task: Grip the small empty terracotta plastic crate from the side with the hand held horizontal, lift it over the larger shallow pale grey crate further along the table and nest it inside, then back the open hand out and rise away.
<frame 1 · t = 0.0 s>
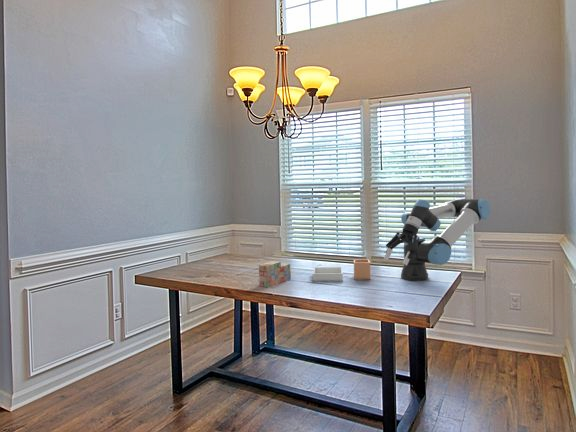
hand: (394, 261, 213), 15 cm above the table, tool tilted 35°, fingers open, 13 cm apart
stack of blocks: (275, 282, 239), on the table
grey crate: (327, 277, 246), on the table
terracotta crate: (361, 277, 244), on the table
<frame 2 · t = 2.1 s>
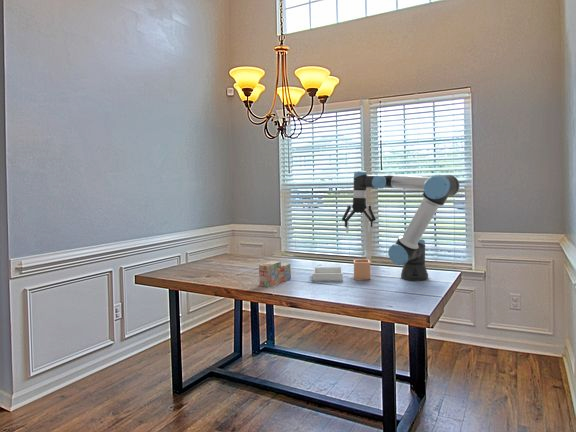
hand: (358, 232, 249), 26 cm above the table, tool pointing down, fingers open, 13 cm apart
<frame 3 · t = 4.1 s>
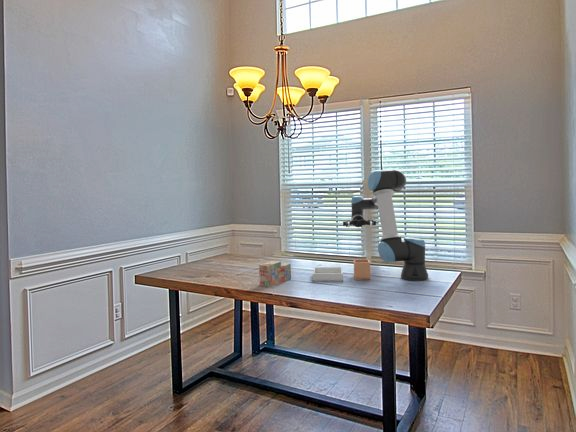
hand: (360, 225, 250), 30 cm above the table, tool horizontal, fingers open, 13 cm apart
nothing on the table moved.
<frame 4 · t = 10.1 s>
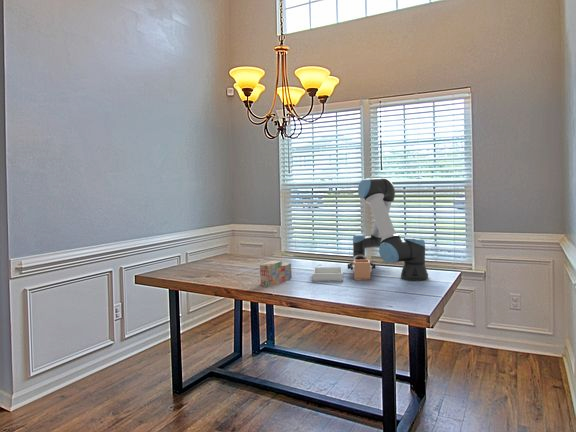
hand: (362, 269, 239), 6 cm above the table, tool horizontal, fingers closed on terracotta crate, 9 cm apart
terracotta crate: (361, 277, 244), on the table, touching gripper
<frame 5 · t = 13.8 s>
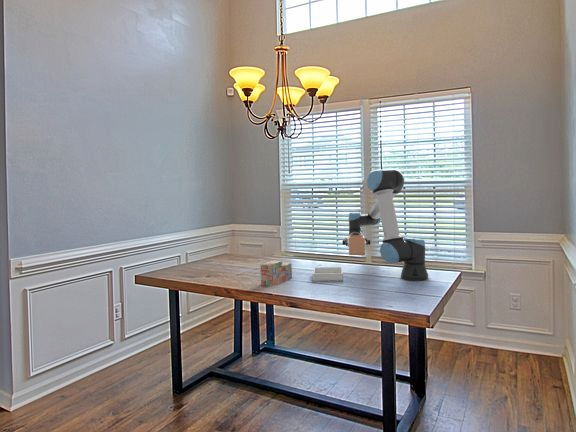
hand: (356, 244, 238), 20 cm above the table, tool horizontal, fingers closed on terracotta crate, 9 cm apart
terracotta crate: (356, 253, 244), point 14 cm above the table, touching gripper
when the fingers open (10 cm above the table, at t = 17.4 s): terracotta crate drops 3 cm, resting on grey crate.
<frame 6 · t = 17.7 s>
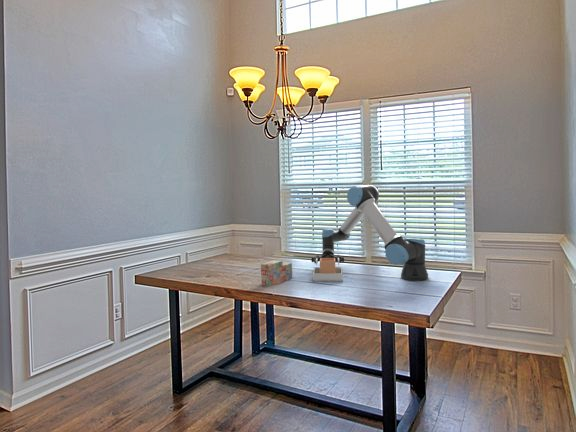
hand: (327, 262, 241), 10 cm above the table, tool horizontal, fingers open, 12 cm apart
terracotta crate: (327, 276, 246), point 1 cm above the table, touching grey crate
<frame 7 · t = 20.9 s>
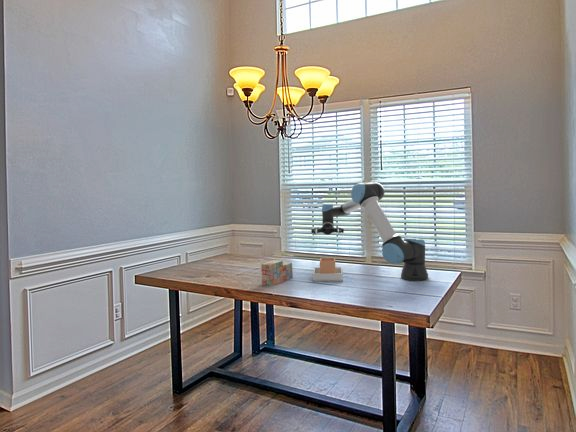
hand: (327, 232, 253), 26 cm above the table, tool horizontal, fingers open, 13 cm apart
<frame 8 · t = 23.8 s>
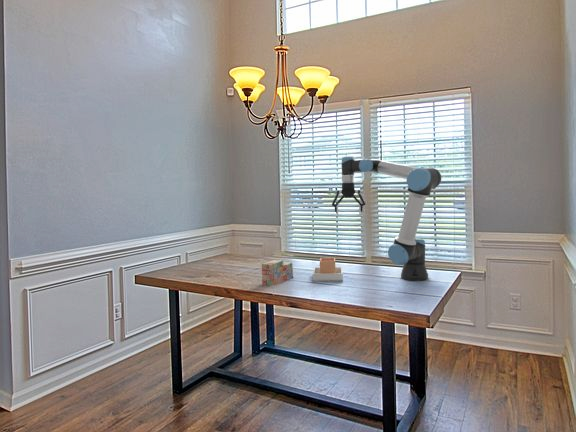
hand: (348, 217, 253), 35 cm above the table, tool pointing down, fingers open, 13 cm apart
at the end: terracotta crate inside the target area on the grey crate (0.1 cm from its centre), point 1.0 cm above the grey crate's base; terracotta crate tilted 0°; the gripper is holding nothing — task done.
